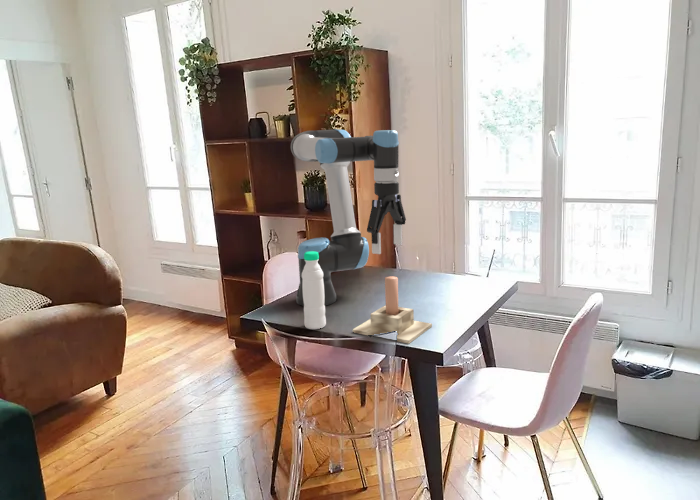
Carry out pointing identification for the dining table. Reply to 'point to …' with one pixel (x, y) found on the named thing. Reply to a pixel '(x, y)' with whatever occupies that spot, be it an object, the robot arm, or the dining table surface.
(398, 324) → the socket block
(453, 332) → the dining table surface
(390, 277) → the dowel
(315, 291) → the water bottle
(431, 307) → the dining table surface
